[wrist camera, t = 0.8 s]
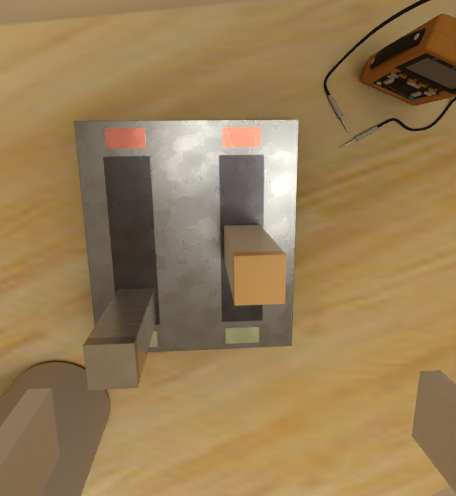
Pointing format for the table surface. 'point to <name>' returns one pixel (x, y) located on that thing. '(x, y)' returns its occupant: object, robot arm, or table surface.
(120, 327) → the dual slider panel
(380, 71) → the multimeter
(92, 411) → the cylinder vase
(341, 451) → the table surface
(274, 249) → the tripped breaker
